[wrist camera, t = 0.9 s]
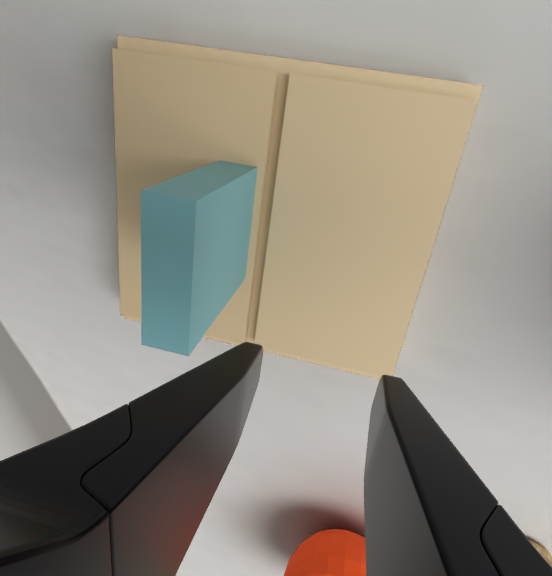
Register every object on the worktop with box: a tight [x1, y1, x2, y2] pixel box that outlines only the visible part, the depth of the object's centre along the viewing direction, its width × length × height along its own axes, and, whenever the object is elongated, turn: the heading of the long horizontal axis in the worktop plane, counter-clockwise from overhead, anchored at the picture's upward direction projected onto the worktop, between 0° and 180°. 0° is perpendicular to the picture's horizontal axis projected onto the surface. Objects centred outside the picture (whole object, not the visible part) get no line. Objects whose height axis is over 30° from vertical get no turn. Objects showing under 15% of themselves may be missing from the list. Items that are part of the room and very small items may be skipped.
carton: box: [117, 35, 484, 379], centre depth 19 cm, size 14×13×2 cm
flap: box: [112, 48, 279, 356], centre depth 16 cm, size 7×12×7 cm, turn 172°
